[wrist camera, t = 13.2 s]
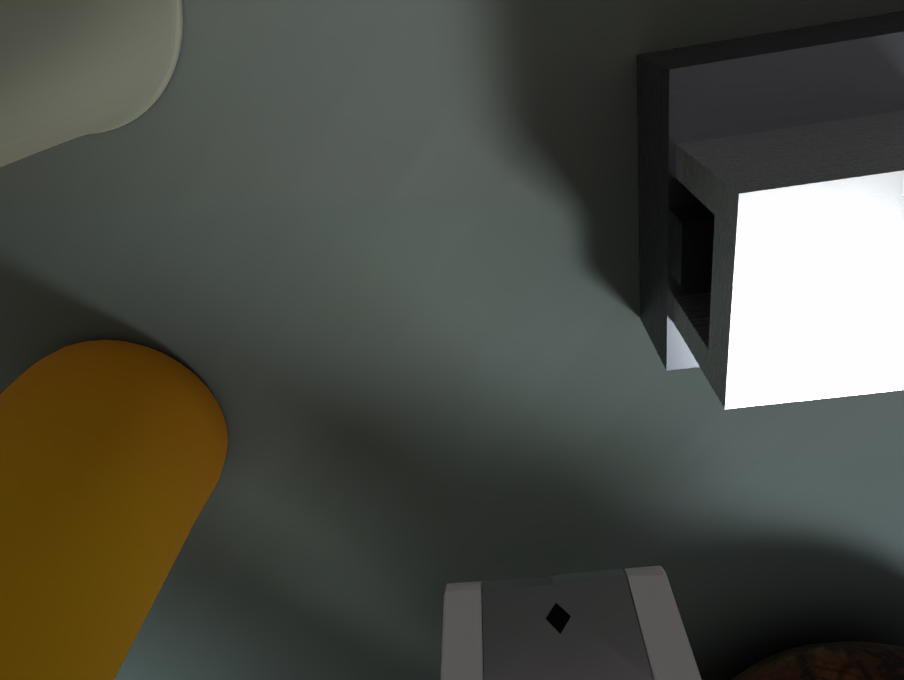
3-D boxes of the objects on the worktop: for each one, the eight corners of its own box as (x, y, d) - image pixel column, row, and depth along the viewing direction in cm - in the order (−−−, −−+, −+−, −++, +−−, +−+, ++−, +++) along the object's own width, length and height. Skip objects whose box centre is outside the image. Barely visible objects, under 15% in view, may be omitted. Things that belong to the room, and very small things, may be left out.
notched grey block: (929, 106, 18) (1075, 146, 14) (891, 296, 21) (1002, 379, 16) (676, 144, 19) (739, 193, 14) (673, 322, 21) (724, 409, 17)
